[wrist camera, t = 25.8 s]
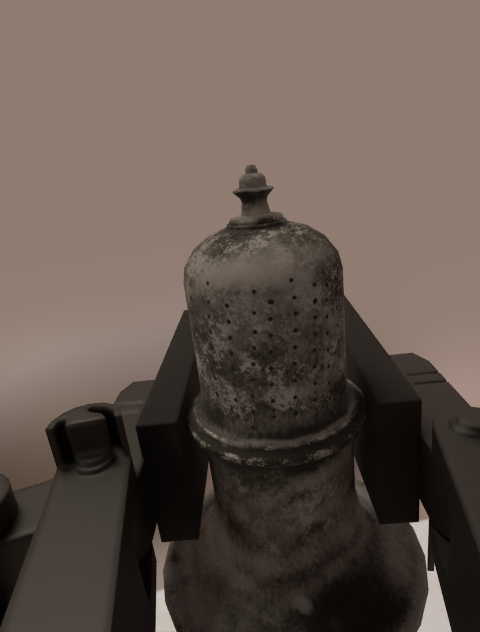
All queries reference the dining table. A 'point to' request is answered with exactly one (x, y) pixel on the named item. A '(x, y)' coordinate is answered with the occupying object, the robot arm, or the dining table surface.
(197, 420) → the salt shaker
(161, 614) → the dining table surface
